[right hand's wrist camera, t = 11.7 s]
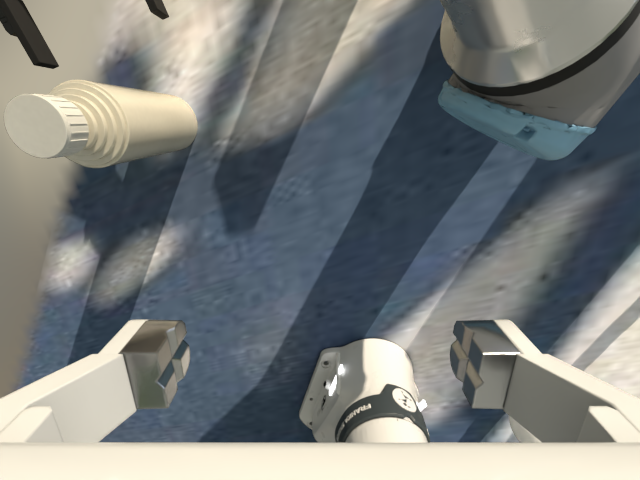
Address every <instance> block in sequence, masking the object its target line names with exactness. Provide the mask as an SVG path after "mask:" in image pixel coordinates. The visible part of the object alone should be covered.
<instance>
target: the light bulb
mask: <svg viewBox="0 0 640 480" xmlns="http://www.w3.org/2000/svg"><path fill="white" fill-rule="evenodd" d="M509 422H510V426H511V429H512V431H513V433H514V435H515V436H516V438H517V439H518V440H519V441H520V443H542V442H541V441H540V440H538V439H537V438H536V437H535V436H534V435H532V434H531V433H530V432H529V431H528V430H526V429H525V428H524V427H523V426H521V425H520V424H519V423H518V422H517V421H515V420H514V419H513V418H512V417H511V416H509Z"/></svg>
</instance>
